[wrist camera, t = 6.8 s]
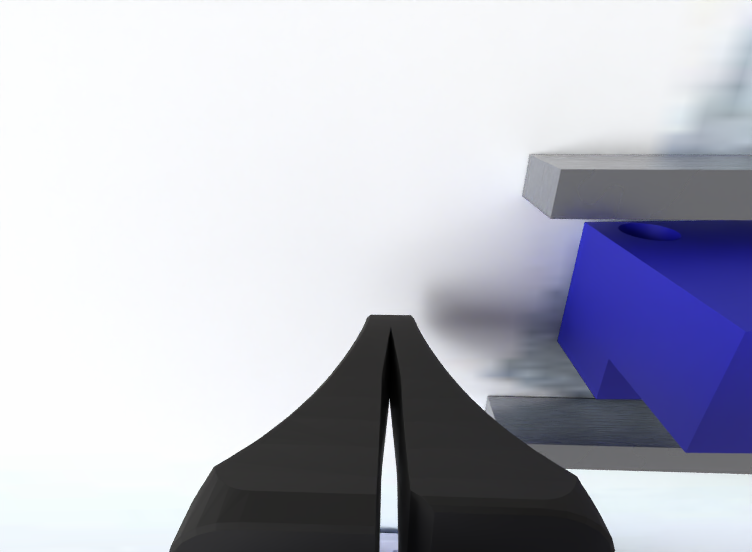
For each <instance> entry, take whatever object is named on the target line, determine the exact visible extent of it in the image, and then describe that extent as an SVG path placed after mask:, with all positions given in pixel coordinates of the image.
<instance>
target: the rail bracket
mask: <svg viewBox="0 0 752 552" xmlns="http://www.w3.org/2000/svg"><path fill="white" fill-rule="evenodd" d="M523 197H524V198H525V199H527V200H528V201H529V202H530V203H532V204H533V205H534V206H535V207H537V208H538V209H539V210H540V211H542V212H543V213H544V214H545V215H547V216H548V217H549V218H550V219H653V220H752V155H529V161H528V167H527V173H526V179H525V184H524V190H523ZM485 412H486V413H488V414H489V415H490V416H491V417H492V418H493V419H495V420H496V421H497V422H498V423H499V424H501V425H502V426H503V427H504V428H505V429H507V430H508V431H509V432H511V433H512V434H513V435H515V436H516V437H517V438H519V439H520V440H521V441H523V442H524V443H526V444H527V445H528V446H530V447H531V448H533V449H534V450H536V451H537V452H539V453H540V454H542V455H543V456H545V457H547V458H548V459H550V460H551V461H553V462H555V463H556V464H558V465H559V466H561V467H562V468H564V469H592V470H627V471H661V472H696V473H730V474H752V453H685V452H684V450H683V449H682V448H681V447H680V446H679V444H678V443H677V442H676V441H675V439H674V438H673V437H672V436H671V434H670V433H669V432H668V431H667V430H666V428H665V427H664V426H663V425H662V423H661V422H660V421H659V420H658V418H657V417H656V416H655V415H654V414H653V412H652V411H651V410H650V409H649V407H648V406H647V405H646V404H645V403H644V401H643V400H624V399H580V398H537V397H494V396H488V398H487V404H486V410H485Z"/></svg>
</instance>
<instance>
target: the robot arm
mask: <svg viewBox="0 0 752 552" xmlns="http://www.w3.org/2000/svg"><path fill="white" fill-rule="evenodd" d="M389 398H390V408H391V418H392V428H393V438H394V447H395V457H396V468H397V491H398V534H397V533H380V507H381V475H382V462H383V453H384V444H385V435H386V426H387V417H388V408H389ZM169 552H615V549H614V545H613V541H612V537H611V535H610V533H609V531H608V529H607V527H606V525H605V523H604V521H603V519H602V517H601V515H600V513H599V512H598V510H597V508H596V506H595V505H594V503H593V501H592V500H591V498H590V497H589V495H588V493H587V492H586V490H585V489H584V487H583V486H582V484H581V482H580V481H579V479H578V477H577V476H575V475H574V474H572V473H570V472H569V471H567V470H566V469H564V468H562V467H561V466H559V465H558V464H556V463H555V462H553V461H551V460H550V459H548V458H547V457H545V456H543V455H542V454H540V453H539V452H537V451H536V450H534V449H533V448H531V447H530V446H528V445H527V444H526V443H524V442H523V441H521V440H520V439H519V438H517V437H516V436H515V435H513V434H512V433H511V432H509V431H508V430H507V429H505V428H504V427H503V426H502V425H501V424H499V423H498V422H497V421H496V420H495V419H493V418H492V417H491V416H490V415H489V414H488V413H486V412H485V411H484V410H483V409H482V408H481V407H480V406H479V405H478V404H477V403H475V402H474V401H473V400H472V399H471V398H470V397H469V396H468V394H467V393H466V392H465V391H464V390H463V389H462V388H461V387H460V386H459V385H458V384H457V383H456V381H455V380H454V379H453V378H452V377H451V375H450V374H449V373H448V372H447V371H446V369H445V368H444V367H443V365H442V364H441V363H440V361H439V360H438V359H437V357H436V356H435V354H434V353H433V351H432V350H431V348H430V347H429V345H428V344H427V342H426V341H425V339H424V337H423V336H422V334H421V332H420V330H419V328H418V326H417V324H416V322H415V320H414V318H413V317H412V316H411V315H370V316H369V317H368V318H367V319H366V322H365V324H364V326H363V328H362V330H361V332H360V334H359V336H358V337H357V339H356V341H355V342H354V344H353V345H352V347H351V348H350V350H349V351H348V353H347V354H346V356H345V357H344V358H343V360H342V361H341V362H340V364H339V365H338V366H337V368H336V369H335V370H334V371H333V373H332V374H331V375H330V376H329V377H328V379H327V380H326V381H325V382H324V383H323V384H322V385H321V386H320V387H319V388H318V389H317V391H316V392H315V393H314V394H313V395H312V396H311V397H309V398H308V399H307V400H306V401H305V402H304V403H303V404H302V405H301V406H300V407H299V408H298V409H297V410H295V411H294V412H293V413H292V414H291V415H290V416H289V417H287V418H286V419H285V420H284V421H282V422H281V423H280V424H278V425H277V426H276V427H274V428H273V429H272V430H270V431H269V432H268V433H267V434H265V435H264V436H263V437H261V438H260V439H258V440H257V441H255V442H254V443H252V444H251V445H249V446H247V447H246V448H244V449H243V450H241V451H239V452H238V453H236V454H235V455H233V456H231V457H230V458H228V459H227V460H225V461H223V462H222V463H220V464H218V465H216V466H215V467H214V468H213V469H212V471H211V472H210V474H209V476H208V477H207V479H206V481H205V482H204V484H203V485H202V487H201V488H200V490H199V492H198V493H197V495H196V497H195V498H194V500H193V502H192V504H191V506H190V508H189V510H188V512H187V514H186V516H185V518H184V520H183V522H182V524H181V526H180V528H179V531H178V533H177V535H176V537H175V539H174V541H173V543H172V545H171V548H170V551H169Z"/></svg>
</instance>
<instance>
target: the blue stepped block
mask: <svg viewBox="0 0 752 552" xmlns="http://www.w3.org/2000/svg"><path fill="white" fill-rule="evenodd" d="M557 341H558V343H559V344H560V346H561V347H562V349H563V350H564V352H565V353H566V355H567V356H568V358H569V359H570V361H571V362H572V364H573V365H574V367H575V368H576V370H577V371H578V373H579V374H580V376H581V377H582V379H583V380H584V382H585V383H586V385H587V386H588V388H589V389H590V391H591V392H592V394H593V395H594V397H595V398H596V399H642V400H643V401H644V403H645V404H646V405H647V406H648V407H649V409H650V410H651V411H652V412H653V414H654V415H655V416H656V417H657V418H658V420H659V421H660V422H661V423H662V425H663V426H664V427H665V428H666V430H667V431H668V432H669V433H670V434H671V436H672V437H673V438H674V439H675V441H676V442H677V443H678V444H679V446H680V447H681V448H682V449H683V450H684V452H685V453H752V220H700V221H628V222H585V223H584V228H583V232H582V236H581V241H580V245H579V249H578V254H577V258H576V262H575V267H574V271H573V275H572V280H571V284H570V288H569V293H568V297H567V301H566V306H565V310H564V314H563V319H562V323H561V327H560V332H559V336H558V340H557Z"/></svg>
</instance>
